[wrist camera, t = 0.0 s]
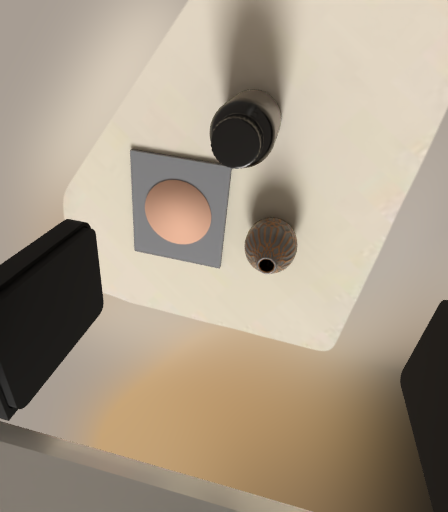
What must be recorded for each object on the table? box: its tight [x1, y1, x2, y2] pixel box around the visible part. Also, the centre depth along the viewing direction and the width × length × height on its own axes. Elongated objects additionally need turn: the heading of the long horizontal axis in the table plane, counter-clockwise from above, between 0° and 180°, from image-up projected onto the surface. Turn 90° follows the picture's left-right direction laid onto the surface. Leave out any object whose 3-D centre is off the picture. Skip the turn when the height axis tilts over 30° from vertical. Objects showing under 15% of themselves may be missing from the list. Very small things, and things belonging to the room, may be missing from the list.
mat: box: [130, 149, 232, 268], centre depth 50 cm, size 16×14×1 cm
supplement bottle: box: [210, 90, 281, 169], centre depth 37 cm, size 7×7×12 cm
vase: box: [245, 218, 297, 274], centre depth 46 cm, size 7×7×9 cm
